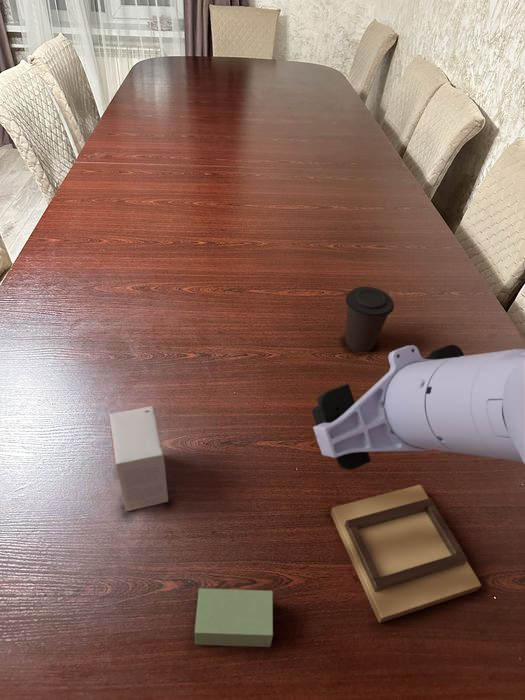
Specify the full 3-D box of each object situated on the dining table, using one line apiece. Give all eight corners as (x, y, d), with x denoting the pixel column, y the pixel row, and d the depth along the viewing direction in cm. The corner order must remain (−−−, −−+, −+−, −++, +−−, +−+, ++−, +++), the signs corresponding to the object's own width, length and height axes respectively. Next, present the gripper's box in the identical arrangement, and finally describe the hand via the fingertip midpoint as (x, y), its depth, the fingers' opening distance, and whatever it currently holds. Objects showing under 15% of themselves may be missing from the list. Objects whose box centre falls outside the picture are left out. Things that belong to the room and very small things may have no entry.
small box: (118, 462, 71) (107, 412, 64) (159, 453, 73) (153, 403, 66) (125, 513, 66) (114, 464, 59) (169, 503, 67) (163, 454, 60)
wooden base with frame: (477, 590, 61) (485, 580, 60) (379, 623, 58) (384, 613, 56) (417, 490, 71) (423, 479, 69) (330, 513, 68) (333, 502, 66)
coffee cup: (391, 344, 93) (405, 299, 86) (362, 363, 89) (374, 318, 82) (357, 321, 97) (368, 276, 91) (328, 338, 93) (336, 293, 86)
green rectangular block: (270, 647, 56) (272, 635, 53) (195, 644, 55) (194, 632, 53) (270, 603, 59) (272, 590, 57) (199, 601, 59) (198, 588, 56)
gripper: (537, 305, 33) (414, 333, 46) (338, 379, 28) (265, 387, 41) (572, 412, 33) (440, 409, 46) (380, 502, 28) (294, 471, 41)
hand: (359, 404), depth 44 cm, fingers open, 7 cm apart
